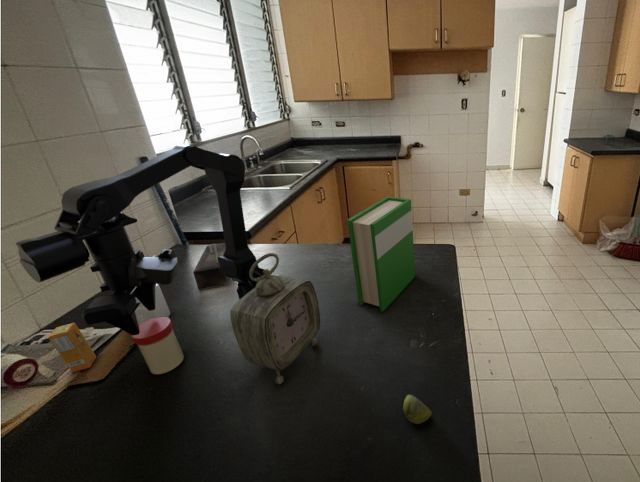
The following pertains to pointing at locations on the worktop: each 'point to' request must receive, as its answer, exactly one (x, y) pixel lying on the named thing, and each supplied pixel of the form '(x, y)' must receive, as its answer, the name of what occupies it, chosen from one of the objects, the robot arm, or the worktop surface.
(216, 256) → the beverage carton
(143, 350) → the jam jar
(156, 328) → the jam lid
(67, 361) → the supplement box
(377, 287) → the hardback book
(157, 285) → the jar
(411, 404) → the lime
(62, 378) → the worktop surface
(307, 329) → the tabletop clock
